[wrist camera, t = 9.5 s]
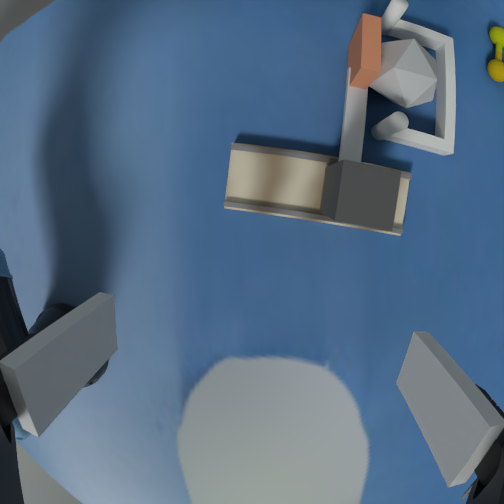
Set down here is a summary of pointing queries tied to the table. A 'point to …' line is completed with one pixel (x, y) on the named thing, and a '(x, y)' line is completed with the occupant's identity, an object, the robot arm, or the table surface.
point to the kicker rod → (360, 144)
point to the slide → (289, 184)
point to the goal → (445, 94)
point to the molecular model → (497, 54)
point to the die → (406, 73)
